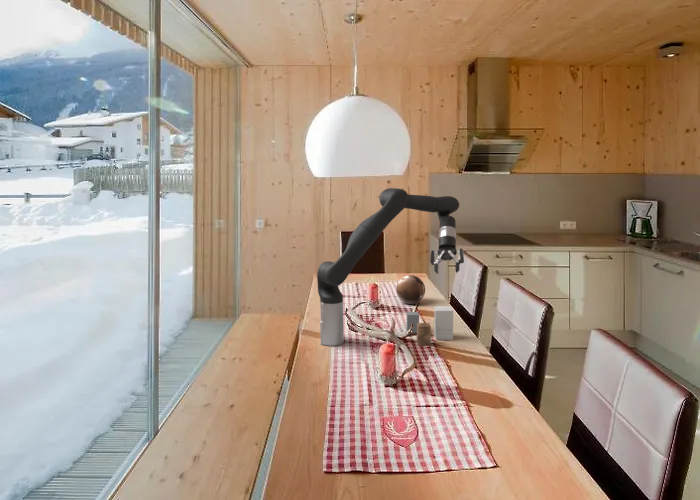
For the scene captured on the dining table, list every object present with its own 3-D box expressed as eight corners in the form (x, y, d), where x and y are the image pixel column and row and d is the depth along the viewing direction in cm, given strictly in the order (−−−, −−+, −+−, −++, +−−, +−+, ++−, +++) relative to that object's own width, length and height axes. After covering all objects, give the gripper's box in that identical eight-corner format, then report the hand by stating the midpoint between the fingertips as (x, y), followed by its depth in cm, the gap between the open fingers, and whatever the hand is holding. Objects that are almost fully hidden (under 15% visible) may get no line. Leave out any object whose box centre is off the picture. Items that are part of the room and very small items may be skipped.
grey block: (407, 333, 228) (407, 314, 227) (406, 329, 233) (406, 311, 232) (419, 332, 228) (419, 314, 227) (417, 329, 233) (418, 311, 231)
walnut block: (418, 345, 211) (418, 326, 210) (416, 341, 216) (417, 322, 215) (430, 345, 211) (430, 326, 210) (429, 341, 216) (429, 322, 215)
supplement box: (451, 334, 224) (451, 305, 222) (453, 340, 217) (453, 310, 215) (433, 334, 225) (434, 305, 223) (434, 340, 218) (435, 310, 216)
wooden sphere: (390, 302, 281) (390, 274, 278) (414, 298, 288) (414, 271, 285) (406, 308, 268) (406, 279, 265) (430, 304, 275) (431, 276, 272)
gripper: (429, 236, 234) (428, 269, 227) (462, 233, 229) (462, 268, 222) (433, 243, 240) (432, 276, 233) (464, 241, 235) (465, 274, 228)
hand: (446, 272), depth 227 cm, fingers open, 8 cm apart
